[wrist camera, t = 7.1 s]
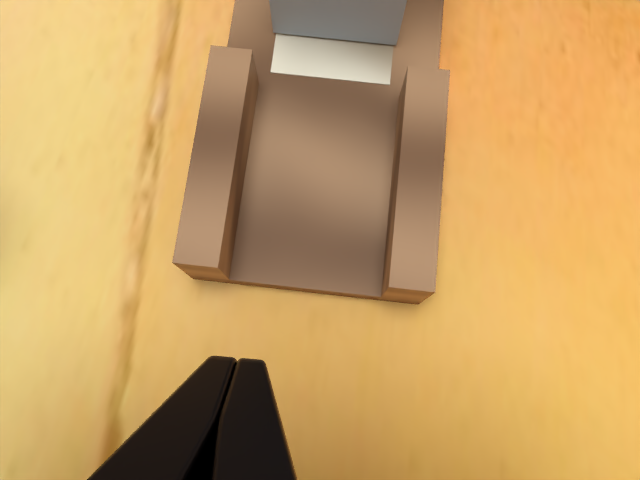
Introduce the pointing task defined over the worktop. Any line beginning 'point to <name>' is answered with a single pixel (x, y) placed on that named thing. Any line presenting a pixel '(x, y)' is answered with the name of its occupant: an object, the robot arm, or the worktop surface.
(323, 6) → the block
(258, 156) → the tan cradle
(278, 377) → the worktop surface
